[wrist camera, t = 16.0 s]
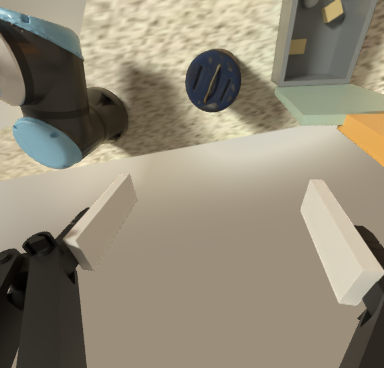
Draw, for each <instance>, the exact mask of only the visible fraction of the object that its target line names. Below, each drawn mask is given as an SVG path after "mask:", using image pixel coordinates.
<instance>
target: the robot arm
mask: <svg viewBox="0 0 384 368" xmlns="http://www.w3.org/2000/svg"><path fill="white" fill-rule="evenodd" d="M83 61H84V58H83V56H82V52H81V46H80V41H79V38H78V36H77V35H76V34H75V32H73V31H72V30H71V29H69V28H67V27H64V26H61V25H58V24H55V23H52V22H48V21H45V20H42V19H39V18H35V17H31V16H27V15H25V14H21V13H18V12H15V11H12V10H8V9H5V8H1V7H0V100H2V101H4V102H6V103H8V104H10V105H12V106H20V107H21V110H22V113H23V116H24V117H23V118H20V119H18V120H17V121H16V122H15V125H14V126H13V135H14V138H15V140H16V142H17V143H18V145H19V146H20V147H21V148H22V150H23V151H24V152H25V153H26V154H28V155H29V156H30V157H31V158H33V159H34V160H35V161H37V162H39V163H40V164H42V165H45V166H47V167H50V168H54V169H66V168H69V167H71V166H72V165H74V164H75V163H78V162H80V161H81V160H82V159H83V158H84V157H86V156H87V155H88V154H90V153H91V152H92V151H93V150H95V149H96V148H97V147H98V146H100V145H101V144H107V143H112V142H115V141H117V140H119V139H120V138H121V137H122V136H123V135H124V134H125V133H126V131H127V128H128V116H127V113H126V110H125V108H124V106H123V104H122V103H121V101H120V100H119V99H118V98H117V97H116V96H115V95H114V94H113V93H111V92H110V91H108V90H106V89H104V88H100V87H90V88H87V87H86V80H85V72H84V65H83ZM136 202H137V197H136V194H135V190H134V187H133V183H132V180H131V176H130V174H127V173H121V174H120V175H119V176H118V177H117V178H116V179H115V180H114V182H113V183H112V184H111V185H110V186H109V187H108V188H107V189H106V191H105V192H104V193H103V194H102V195H101V196H100V197H99V199H98V200H97V201H96V202H95V203H94V204H93V205H92V206H91V208H86V209H85V210H83V211H81V212H80V213H79V214H78V215H77V216H76V217H75V219H74V220H73V221H72V222H71V223H70V224H69V225H68V226H67V227H66V228H65V229H64V230H63V232H62V233H61V234H60V235H59V236H58V237H57V238H56V239H54V237H53V236H52V235H51V234H50V233H49V232H40V233H37V234H35V235H32V236H31V237H30V238H28V239H27V240H26V241H25V242H24V243H23V246H22V247H23V249H24V250H25V251H26V252H27V253H23V254H21V253H20V252H19V251H17V250H16V249H14V248H13V249H8V250H5V251H2V252H1V253H0V368H11V367H12V364H13V361H14V358H15V356H16V353H17V350H18V347H19V350H18V357H17V366H16V368H87V366H86V355H85V345H84V335H83V327H82V316H81V306H80V297H79V286H78V276H77V271H76V269H75V268H76V267H77V265H78V264H79V265H80V266H81V268H82V269H84V270H91V271H94V270H95V268H96V267H97V265H98V264H99V262H100V260H101V259H102V257H103V256H104V254H105V252H106V251H107V249H108V247H109V246H110V244H111V243H112V241H113V239H114V238H115V236H116V235H117V233H118V231H119V230H120V228H121V226H122V225H123V223H124V221H125V220H126V218H127V217H128V215H129V213H130V212H131V210H132V208H133V207H134V205H135V204H136ZM300 211H301V213H302V216H303V218H304V220H305V222H306V225H307V228H308V230H309V232H310V235H311V237H312V240H313V242H314V245H315V247H316V249H317V252H318V254H319V257H320V259H321V262H322V264H323V266H324V269H325V271H326V274H327V276H328V278H329V281H330V283H331V286H332V288H333V291H334V293H335V295H336V298H337V300H338V303H341V304H348V305H355V306H356V305H358V303H360V301H361V300H363V302H364V304H365V306H366V307H367V309H366V310H365V311H364V312H363V313H362V314H361V315H360V316H359V317H358V318H357V319H359V320H360V321H359V324H358V326H357V328H356V331H355V333H354V335H353V337H352V340H351V342H350V344H349V347H348V349H347V351H346V353H345V356H344V358H343V360H342V363H341V365H340V367H339V368H384V248H383V246H382V245H381V244H379V241H378V240H377V239H376V237H375V236H374V234H373V233H371V232H370V231H369V230H368V229H366V228H365V227H364V226H356V225H353V224H352V223H351V221H350V220H349V218H348V217H347V215H346V214H345V212H344V211H343V209H342V208H341V206H340V205H339V203H338V202H337V200H336V199H335V197H334V196H333V194H332V193H331V191H330V190H329V189H328V187H327V186H326V184H325V183H324V181H323V180H310V182H309V185H308V188H307V191H306V194H305V197H304V200H303V204H302V206H301V209H300ZM9 288H10V291H9V293H8V294H7V292H8V289H9Z"/></svg>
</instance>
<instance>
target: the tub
mask: <svg viewBox="0 0 384 368" xmlns="http://www.w3.org/2000/svg"><path fill="white" fill-rule="evenodd" d="M377 1H378V0H283V1H282V8H281V15H280V22H279V29H278V36H277V43H276V50H275V57H274V64H273V71H272V78H271V80H272V81H273V82H274V83H275V84H276V85H277V86H278V87H280V86H303V85H325V84H347V83H349V82H350V79H351V76H352V73H353V70H354V67H355V64H356V62H357V59H358V56H359V53H360V50H361V47H362V44H363V41H364V38H365V36H366V33H367V30H368V27H369V24H370V21H371V18H372V15H373V12H374V10H375V7H376V4H377Z"/></svg>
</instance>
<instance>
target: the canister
mask: <svg viewBox="0 0 384 368" xmlns="http://www.w3.org/2000/svg"><path fill="white" fill-rule="evenodd" d="M185 85H186V91H187V94H188V97H189V99H190V100H191V102H192V103H193V104H194V105H195V106H196V107H197V108H199V109H201V110H203V111H206V112H219V111H222V110H224V109H226V108H227V107H229V106H230V105H231V104H232V103H233V102H234V100H235V99H236V97H237V95H238V93H239V90H240V86H241V73H240V67H239V63H238V60H237V59H236V58H235V56H234V55H233V54H232V53H231V52H229V51H227V50H225V49H212V50H209V51H206V52H203V53H201V54H200V55H198V56H197V57H196V58H195V59H194V60H193V61H192V62H191V64H190V66H189V68H188V70H187V74H186V80H185Z"/></svg>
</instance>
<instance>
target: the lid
mask: <svg viewBox="0 0 384 368" xmlns="http://www.w3.org/2000/svg"><path fill="white" fill-rule="evenodd" d="M275 95H276V96H277V97H278V99H279V100H280V101H281V102H282V103H283V105H284V106H285V107H286V108H287V109H288V110H289V112H290V113H291V114H292V115H293V116H294V118H295V119H296V120H297V121H298V122H299V124H300V125H338V127H337V129H338V130H339V131H340V132H342V133H343V134H344V135H345V136H346V137H348V138H349V139H350V140H351V141H353V142H354V143H355V144H356V145H358V146H359V147H360V148H361V149H362V150H364V151H365V152H366V153H367V154H369V155H370V156H371V157H372V158H374V159H375V160H376V161H377V162H379V163H380V164H381V165H382V166H383V167H384V94H381V93H378V92H375V91H372V90H369V89H366V88H363V87H360V86H357V85H354V84H338V85H316V86H293V87H276V89H275Z"/></svg>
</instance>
